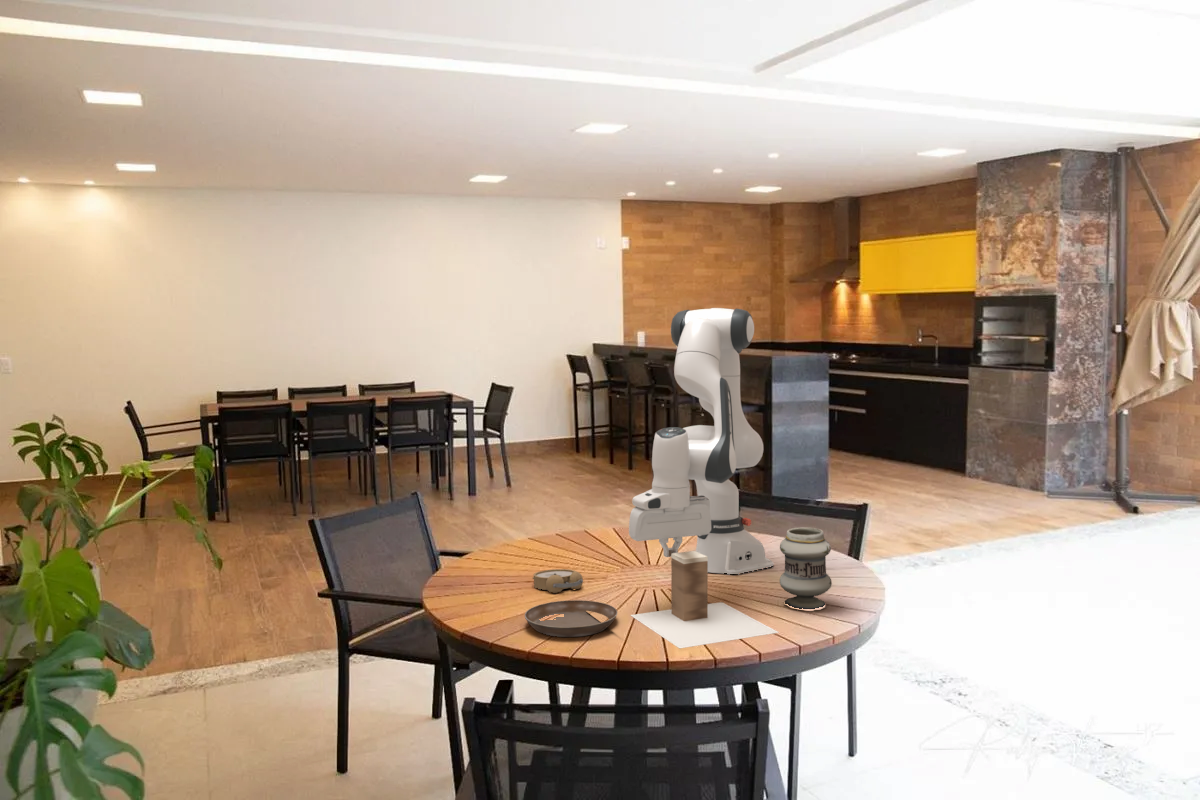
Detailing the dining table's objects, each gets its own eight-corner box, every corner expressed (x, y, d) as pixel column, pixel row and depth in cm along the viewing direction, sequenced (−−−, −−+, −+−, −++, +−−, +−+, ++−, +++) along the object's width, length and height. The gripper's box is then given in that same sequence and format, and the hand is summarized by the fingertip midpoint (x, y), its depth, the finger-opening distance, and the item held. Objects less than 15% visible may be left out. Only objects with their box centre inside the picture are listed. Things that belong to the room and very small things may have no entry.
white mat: (722, 605, 220) (721, 602, 220) (779, 636, 198) (779, 632, 198) (630, 618, 210) (630, 615, 210) (679, 652, 188) (679, 648, 188)
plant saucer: (512, 620, 211) (512, 605, 211) (594, 608, 219) (594, 594, 219) (544, 647, 192) (544, 632, 192) (633, 633, 201) (633, 618, 200)
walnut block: (694, 610, 213) (694, 550, 212) (707, 617, 208) (707, 556, 207) (671, 613, 211) (671, 553, 210) (683, 621, 206) (683, 559, 204)
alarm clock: (563, 567, 246) (591, 569, 233) (565, 586, 245) (593, 589, 233) (525, 573, 240) (551, 576, 227) (527, 592, 240) (553, 596, 227)
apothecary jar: (769, 601, 222) (769, 527, 221) (810, 595, 227) (811, 523, 226) (799, 615, 211) (799, 538, 210) (842, 609, 216) (842, 533, 215)
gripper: (703, 492, 223) (702, 549, 224) (626, 498, 215) (626, 557, 216) (716, 496, 217) (716, 554, 218) (637, 503, 209) (637, 563, 210)
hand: (670, 556), depth 217 cm, fingers closed
